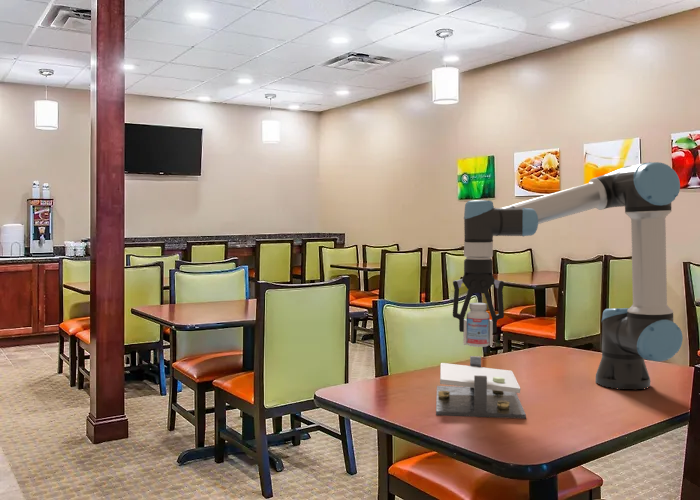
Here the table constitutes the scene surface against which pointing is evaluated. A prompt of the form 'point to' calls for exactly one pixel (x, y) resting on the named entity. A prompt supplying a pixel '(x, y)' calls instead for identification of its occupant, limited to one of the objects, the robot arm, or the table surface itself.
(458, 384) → the stage
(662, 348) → the robot arm
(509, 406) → the grey stand base
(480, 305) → the pill bottle
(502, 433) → the table surface
